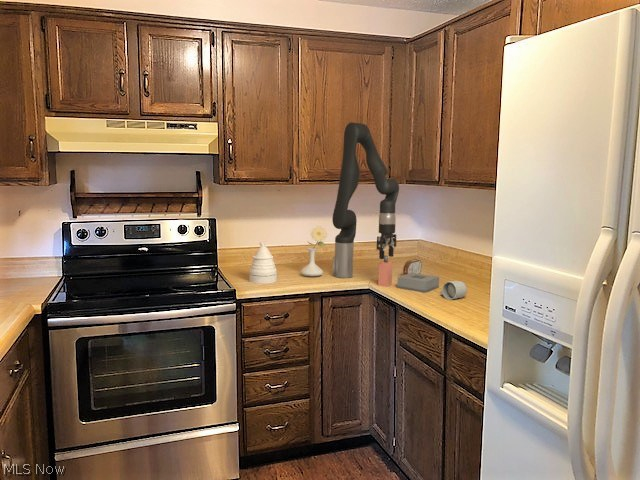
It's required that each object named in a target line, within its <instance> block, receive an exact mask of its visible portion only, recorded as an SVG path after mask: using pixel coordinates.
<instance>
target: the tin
mask: <svg viewBox="0 0 640 480" xmlns="http://www.w3.org/2000/svg"><path fill="white" fill-rule="evenodd" d="M422 265H423V263H422V260H420V259H416V258H413V259H409V260H407V261H406V262H405V263H404V265H403V267H402V268H403V269H402V273H403V274H402V275H406V274H409V273H418V274H421V272H422V267H423V266H422Z"/></svg>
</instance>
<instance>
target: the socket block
mask: <svg viewBox="0 0 640 480" xmlns="http://www.w3.org/2000/svg"><path fill="white" fill-rule="evenodd" d="M396 285H397V287H396V288H397V289H402V290H408V291H413V292H419V293H426V294H427V293H428V292H430V291H433V290H435V289H438V288H440V276H437V275H432V274H431V275H430V274H423V273H420V274H418V273H409V274H406V275H404V274H402V275H400V276H397V284H396Z"/></svg>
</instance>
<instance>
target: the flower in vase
mask: <svg viewBox="0 0 640 480" xmlns="http://www.w3.org/2000/svg"><path fill="white" fill-rule="evenodd" d="M310 232H311V233H310V236H311V238H312V240H314V241H315V245H314V243H311V242H309V241H307V243H308V244H309V245H312V246H313V247H307V248H306V249H307V251H308V253H309V263H308V264H307V265H306V266H304V267H303V268H302V269H301V270H300V275H303V276H306V277H319V276H322V275H323V274H324V270H323V269H322V268H320V267H319V266H318V265H317V264H316V261H315V257H316V256H315V255H316V252H317V250H318V248H316V246H317V245H318V246H319V247H324V246H326V243H324V242H323V241H325V240H326V237H327V236H328V233H327V230H326V228H324V227H322V226H315V227H314V228H312V229H311V231H310Z"/></svg>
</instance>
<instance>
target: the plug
mask: <svg viewBox="0 0 640 480" xmlns="http://www.w3.org/2000/svg"><path fill="white" fill-rule="evenodd" d="M392 282H393V261H389V255H386V254H384V259H383V260H382V261H379V262H378V282H377V283H378V286H379V287H385V288H388V287H390V286H392V285H393V284H392Z"/></svg>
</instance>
